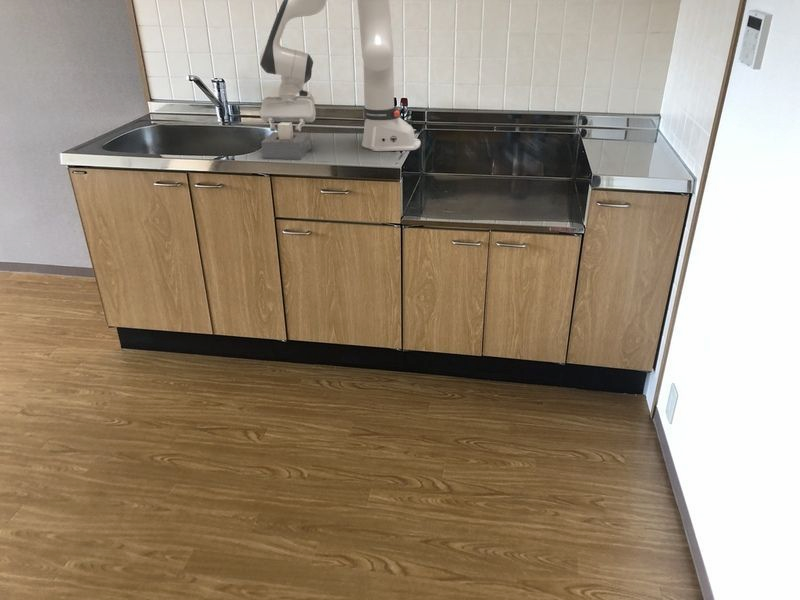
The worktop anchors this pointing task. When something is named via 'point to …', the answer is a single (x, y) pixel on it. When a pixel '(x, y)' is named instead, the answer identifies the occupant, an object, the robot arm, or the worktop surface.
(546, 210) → the worktop surface
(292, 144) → the grey socket block
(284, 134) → the plug
